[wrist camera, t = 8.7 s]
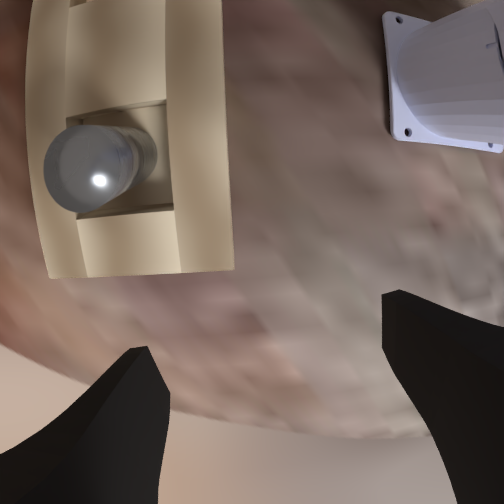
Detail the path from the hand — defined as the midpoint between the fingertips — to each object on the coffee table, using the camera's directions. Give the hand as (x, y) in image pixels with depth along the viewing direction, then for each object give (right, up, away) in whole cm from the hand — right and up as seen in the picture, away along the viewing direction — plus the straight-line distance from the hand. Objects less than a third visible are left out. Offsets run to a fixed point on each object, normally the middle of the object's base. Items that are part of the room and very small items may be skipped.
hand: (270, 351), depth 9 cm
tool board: (-7, +13, +5) cm, 16 cm away
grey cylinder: (-7, +8, +6) cm, 12 cm away
